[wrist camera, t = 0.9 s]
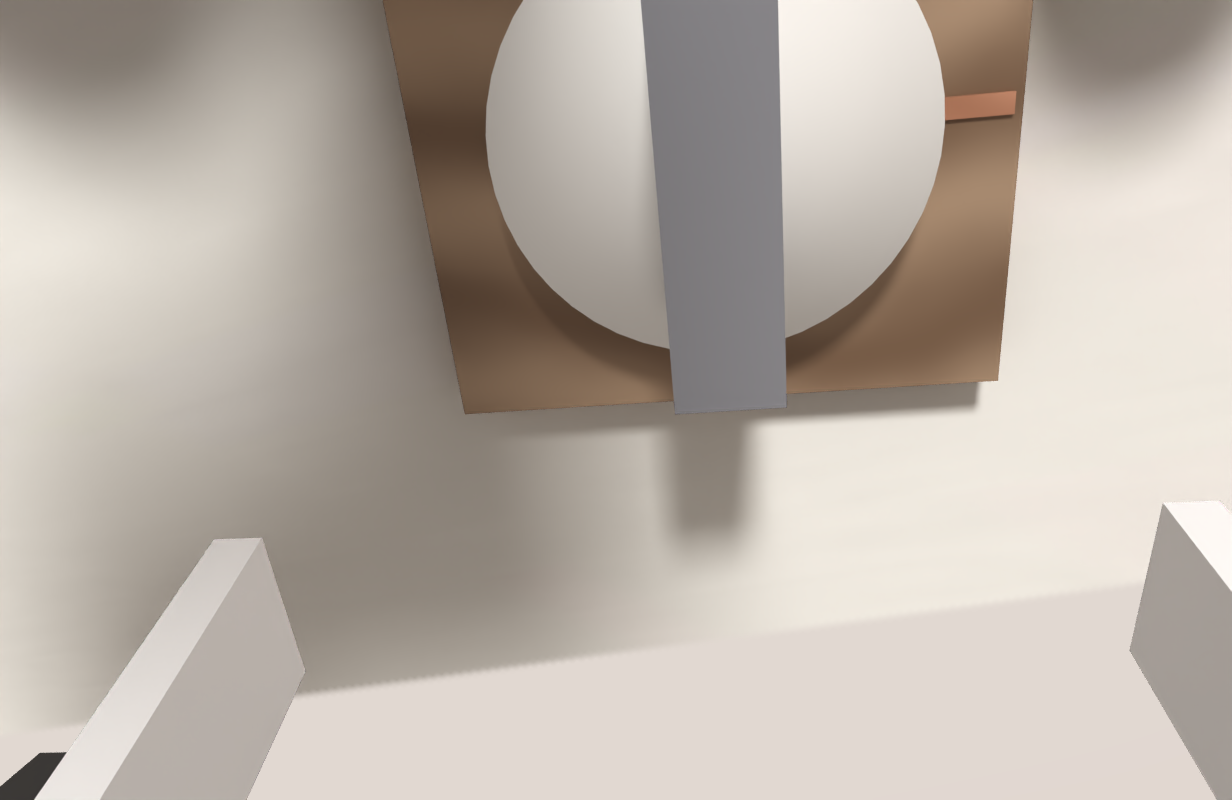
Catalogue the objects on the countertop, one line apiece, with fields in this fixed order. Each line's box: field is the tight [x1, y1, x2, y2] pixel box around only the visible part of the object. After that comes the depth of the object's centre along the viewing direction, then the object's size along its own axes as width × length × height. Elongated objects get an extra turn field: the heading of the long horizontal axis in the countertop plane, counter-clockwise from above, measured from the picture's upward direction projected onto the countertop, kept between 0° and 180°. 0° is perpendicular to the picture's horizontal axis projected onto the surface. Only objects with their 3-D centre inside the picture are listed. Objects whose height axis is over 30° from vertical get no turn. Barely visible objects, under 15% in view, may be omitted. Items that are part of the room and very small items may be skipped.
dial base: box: [383, 0, 1033, 414], centre depth 32 cm, size 20×20×2 cm
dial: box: [486, 0, 945, 414], centre depth 27 cm, size 14×14×9 cm
